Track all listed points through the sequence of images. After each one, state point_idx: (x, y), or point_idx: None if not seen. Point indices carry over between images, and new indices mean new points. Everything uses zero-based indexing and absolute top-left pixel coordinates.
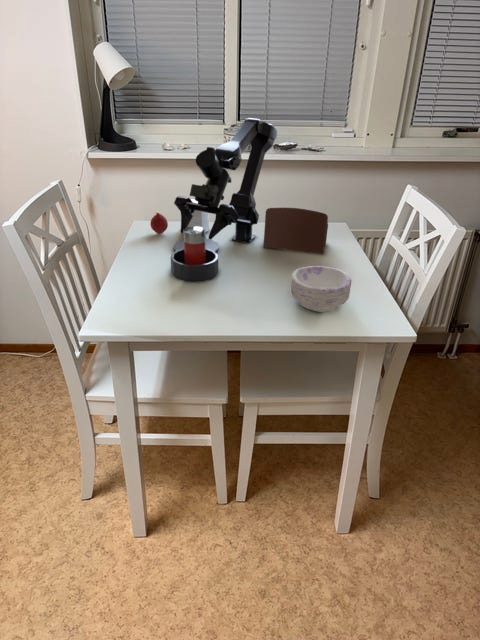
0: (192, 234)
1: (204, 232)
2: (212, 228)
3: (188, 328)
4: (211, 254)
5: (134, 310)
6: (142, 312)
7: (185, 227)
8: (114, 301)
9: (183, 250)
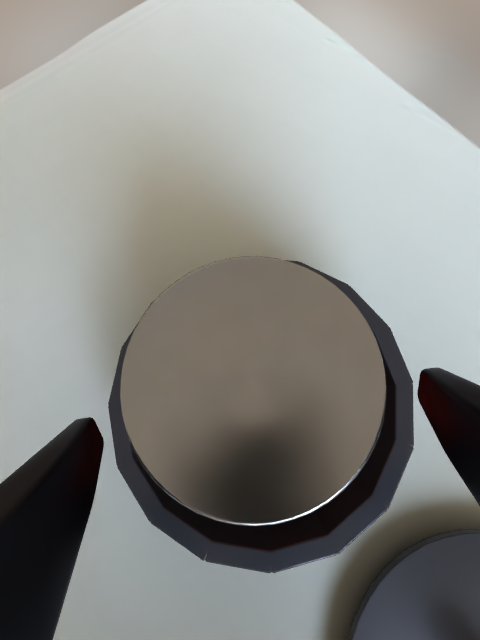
0: (189, 273)
1: (130, 424)
2: (7, 501)
3: (29, 96)
4: (222, 534)
5: (221, 68)
6: (193, 74)
7: (465, 456)
8: (312, 63)
9: (391, 436)
